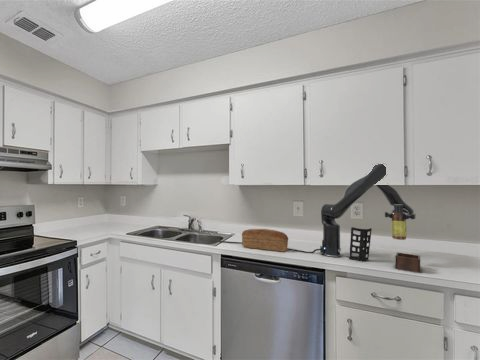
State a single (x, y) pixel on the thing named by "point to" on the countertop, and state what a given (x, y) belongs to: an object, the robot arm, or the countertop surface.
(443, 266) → the countertop surface
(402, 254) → the wooden sleeve
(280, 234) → the bread
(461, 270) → the countertop surface
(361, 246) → the holder
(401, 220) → the sauce bottle
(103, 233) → the countertop surface
